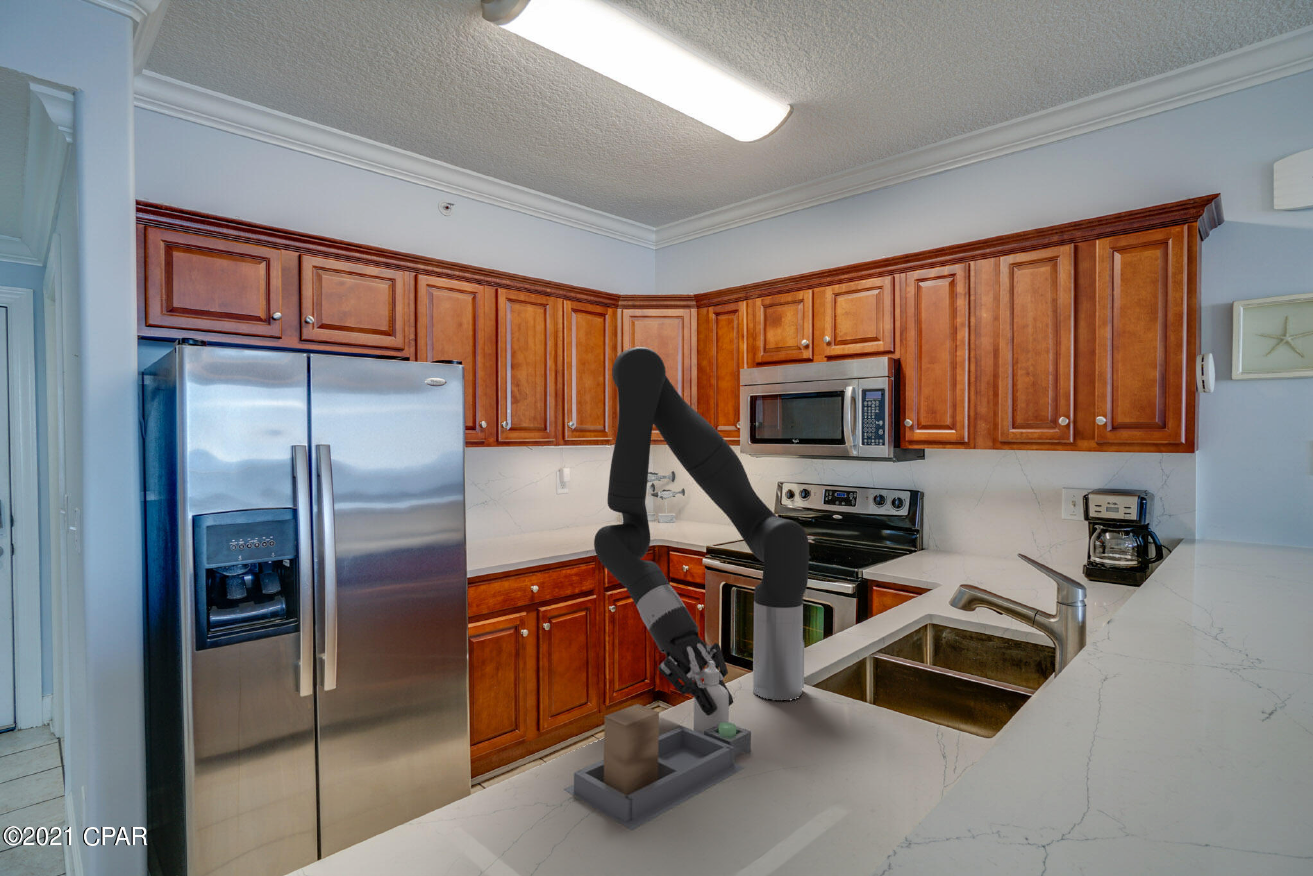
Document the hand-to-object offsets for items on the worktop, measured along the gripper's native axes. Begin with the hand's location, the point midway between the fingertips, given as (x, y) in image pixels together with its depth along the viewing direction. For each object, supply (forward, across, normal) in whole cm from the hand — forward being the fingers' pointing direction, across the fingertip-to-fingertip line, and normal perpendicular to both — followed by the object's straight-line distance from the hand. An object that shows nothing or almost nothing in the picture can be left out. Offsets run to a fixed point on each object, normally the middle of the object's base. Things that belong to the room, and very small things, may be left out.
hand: (720, 708), depth 106 cm
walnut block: (+5, -23, 0) cm, 24 cm away
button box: (+7, -4, 0) cm, 8 cm away
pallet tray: (+6, -18, +1) cm, 19 cm away
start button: (+5, -4, -1) cm, 7 cm away
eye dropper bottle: (+2, 0, +5) cm, 6 cm away
